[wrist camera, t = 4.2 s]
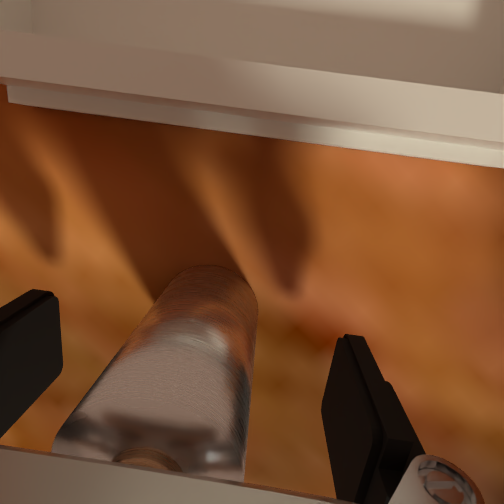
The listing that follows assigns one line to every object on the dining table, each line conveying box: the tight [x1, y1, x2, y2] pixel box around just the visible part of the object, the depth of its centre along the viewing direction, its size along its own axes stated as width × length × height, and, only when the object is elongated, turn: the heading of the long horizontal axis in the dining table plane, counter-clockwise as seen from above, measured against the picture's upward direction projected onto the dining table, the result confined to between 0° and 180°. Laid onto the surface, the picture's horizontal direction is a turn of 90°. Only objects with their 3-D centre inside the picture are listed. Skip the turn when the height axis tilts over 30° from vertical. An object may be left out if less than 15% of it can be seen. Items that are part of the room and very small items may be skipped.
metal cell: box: [51, 265, 258, 482], centre depth 10 cm, size 4×4×8 cm
